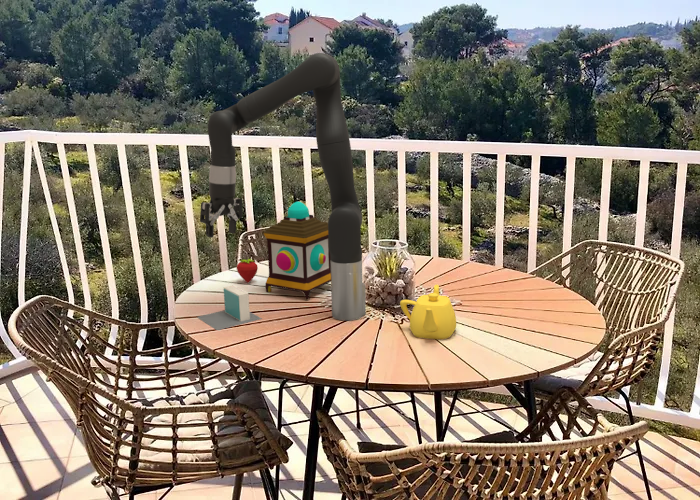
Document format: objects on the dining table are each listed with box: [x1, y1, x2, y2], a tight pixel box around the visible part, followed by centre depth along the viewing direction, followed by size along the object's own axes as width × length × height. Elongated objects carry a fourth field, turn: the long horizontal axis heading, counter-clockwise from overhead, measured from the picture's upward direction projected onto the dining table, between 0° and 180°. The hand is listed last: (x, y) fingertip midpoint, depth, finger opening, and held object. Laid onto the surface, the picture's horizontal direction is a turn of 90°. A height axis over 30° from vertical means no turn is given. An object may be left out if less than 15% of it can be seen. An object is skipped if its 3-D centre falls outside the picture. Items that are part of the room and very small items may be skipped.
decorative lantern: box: [263, 201, 331, 301], centre depth 218 cm, size 20×20×30 cm
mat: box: [196, 309, 263, 331], centre depth 195 cm, size 14×14×1 cm
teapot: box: [399, 284, 457, 340], centre depth 182 cm, size 22×16×11 cm
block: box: [223, 285, 251, 321], centre depth 196 cm, size 3×10×8 cm, turn 37°
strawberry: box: [236, 258, 259, 284], centre depth 229 cm, size 6×8×10 cm
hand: (221, 234), depth 195 cm, fingers open, 8 cm apart
